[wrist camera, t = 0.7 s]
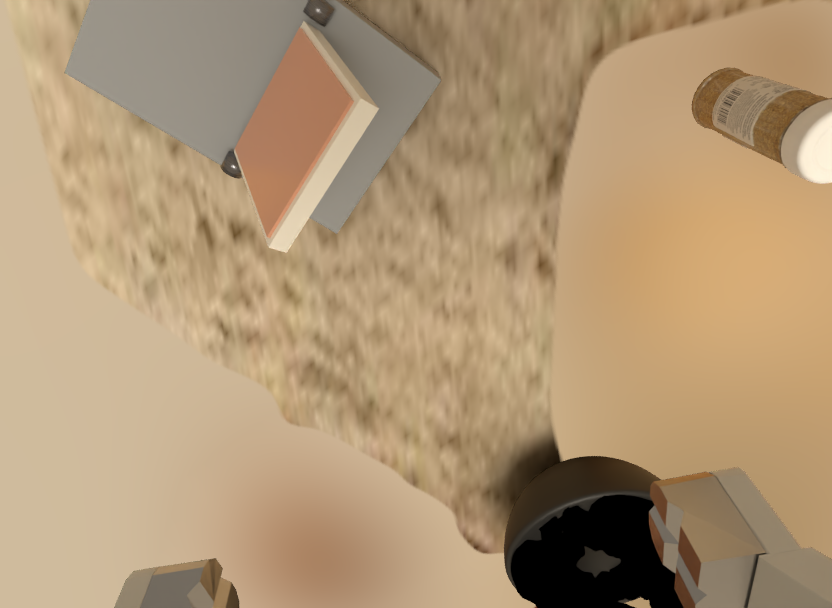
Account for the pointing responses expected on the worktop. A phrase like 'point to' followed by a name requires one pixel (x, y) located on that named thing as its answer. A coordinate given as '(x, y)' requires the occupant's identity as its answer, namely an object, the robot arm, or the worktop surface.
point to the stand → (244, 75)
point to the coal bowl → (587, 538)
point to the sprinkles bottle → (769, 120)
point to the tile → (301, 135)
